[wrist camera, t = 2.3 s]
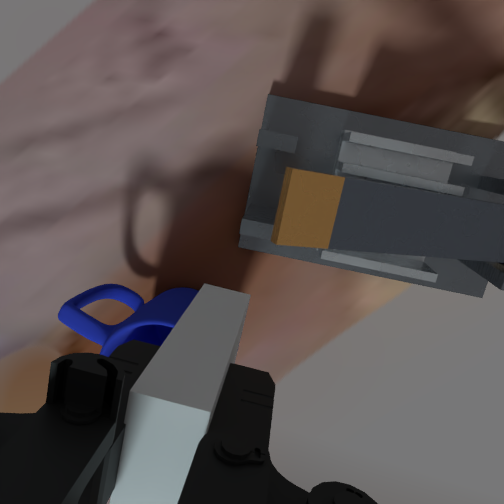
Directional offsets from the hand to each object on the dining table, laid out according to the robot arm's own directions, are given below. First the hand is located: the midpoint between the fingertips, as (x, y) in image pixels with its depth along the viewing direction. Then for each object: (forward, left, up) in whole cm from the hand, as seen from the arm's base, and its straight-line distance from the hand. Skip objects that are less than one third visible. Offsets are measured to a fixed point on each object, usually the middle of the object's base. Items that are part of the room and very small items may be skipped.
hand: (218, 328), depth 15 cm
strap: (+9, +3, -13) cm, 16 cm away
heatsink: (+9, +3, -24) cm, 26 cm away
